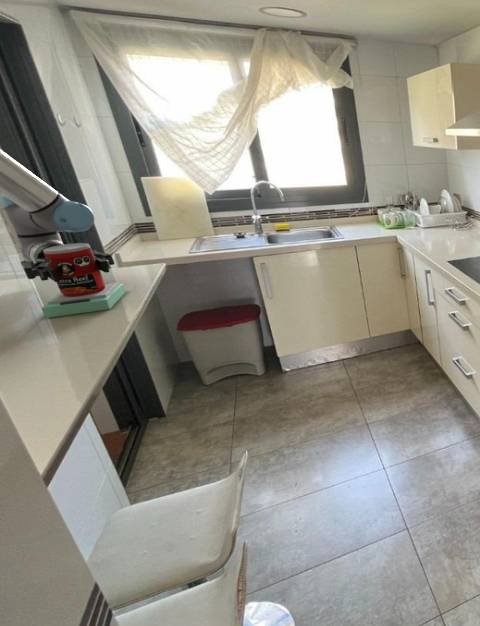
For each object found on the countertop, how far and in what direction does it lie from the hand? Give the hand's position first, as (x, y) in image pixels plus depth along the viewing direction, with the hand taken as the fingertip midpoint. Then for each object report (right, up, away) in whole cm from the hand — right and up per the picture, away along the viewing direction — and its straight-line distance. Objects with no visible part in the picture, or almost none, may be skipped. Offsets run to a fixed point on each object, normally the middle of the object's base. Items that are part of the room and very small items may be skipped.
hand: (81, 271), depth 106 cm
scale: (-4, -8, +5) cm, 10 cm away
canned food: (-4, -5, +5) cm, 8 cm away
